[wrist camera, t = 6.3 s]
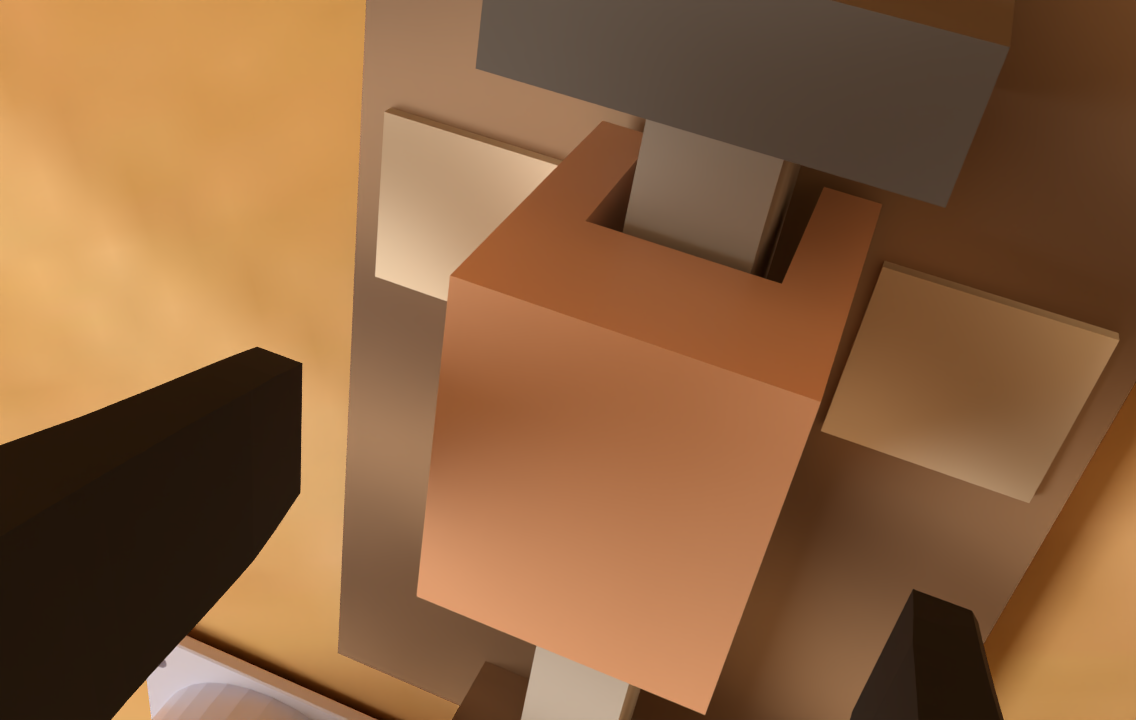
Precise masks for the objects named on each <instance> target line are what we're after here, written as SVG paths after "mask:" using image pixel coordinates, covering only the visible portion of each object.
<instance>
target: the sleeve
mask: <svg viewBox="0 0 1136 720" xmlns="http://www.w3.org/2000/svg"><path fill="white" fill-rule="evenodd" d="M642 137H643V132H639V131H636V130H633V129H629V128H626V127H622V126H619V125H616V124H612V123H609V122H606V121H602V122H601V123H600V124H599V125H598V126H597V127H596V128H595V129H594V130H593V131H592V132H591V133H590V134H589V135H588V136H587V137H586V138H585V139H584V140H583V141H582V142H581V143H580V144H579V145H578V146H577V147H576V148H575V149H574V150H573V151H572V152H571V153H570V154H569V155H568V156H567V157H566V158H565V159H564V160H563V161H562V162H561V163H560V164H559V165H558V166H557V167H556V168H555V169H554V170H553V171H552V172H551V173H550V174H549V175H548V176H547V177H546V178H545V179H544V180H543V181H542V182H541V183H540V184H539V185H538V186H537V188H536V189H535V190H534V191H533V192H532V193H531V194H530V195H529V196H528V197H527V198H526V199H525V200H524V201H523V202H522V203H521V204H520V205H519V206H518V207H517V208H516V209H515V210H514V211H513V212H512V213H511V214H510V215H509V216H508V217H507V218H506V219H505V220H504V221H503V222H502V223H501V224H500V225H499V226H498V227H497V228H496V229H495V230H494V231H493V232H492V233H491V234H490V235H489V236H488V237H487V238H486V239H485V240H484V241H483V242H482V243H481V244H480V245H479V246H478V247H477V248H476V249H475V250H474V251H473V252H472V253H471V255H470V256H469V257H468V258H467V259H466V260H465V261H464V262H463V263H462V264H461V265H460V266H459V267H458V268H457V269H456V270H455V271H454V272H453V273H452V274H451V275H450V279H449V289H448V299H447V308H446V318H445V327H444V337H443V347H442V356H441V366H440V375H439V385H438V395H437V404H436V414H435V423H434V433H433V443H432V452H431V462H430V471H429V481H428V491H427V500H426V510H425V519H424V529H423V539H422V548H421V558H420V567H419V577H418V587H417V597H419V598H422V599H424V600H427V601H429V602H432V603H434V604H436V605H439V606H441V607H444V608H446V609H449V610H451V611H453V612H456V613H458V614H461V615H463V616H466V617H468V618H470V619H473V620H475V621H478V622H480V623H483V624H485V625H487V626H490V627H492V628H495V629H497V630H500V631H502V632H504V633H507V634H509V635H512V636H514V637H517V638H519V639H521V640H524V641H526V642H529V643H531V644H534V645H536V646H538V647H541V648H543V649H546V650H548V651H551V652H553V653H555V654H558V655H560V656H563V657H565V658H568V659H570V660H572V661H575V662H577V663H580V664H582V665H585V666H587V667H589V668H592V669H594V670H597V671H599V672H602V673H604V674H607V675H609V676H611V677H614V678H616V679H619V680H621V681H624V682H626V683H628V684H631V685H633V686H636V687H638V688H641V689H643V690H645V691H648V692H650V693H653V694H655V695H658V696H660V697H662V698H665V699H667V700H670V701H672V702H675V703H677V704H679V705H682V706H684V707H687V708H689V709H692V710H694V711H696V712H699V713H701V714H704V715H705V714H706V711H707V708H708V706H709V703H710V700H711V698H712V695H713V692H714V689H715V687H716V684H717V681H718V679H719V676H720V673H721V671H722V668H723V665H724V662H725V660H726V657H727V654H728V652H729V649H730V646H731V644H732V641H733V638H734V635H735V633H736V630H737V627H738V625H739V622H740V619H741V617H742V614H743V611H744V608H745V606H746V603H747V600H748V598H749V595H750V592H751V590H752V587H753V584H754V581H755V579H756V576H757V573H758V571H759V568H760V565H761V563H762V560H763V557H764V554H765V552H766V549H767V546H768V544H769V541H770V538H771V536H772V533H773V530H774V528H775V525H776V522H777V519H778V517H779V514H780V511H781V509H782V506H783V503H784V501H785V498H786V495H787V492H788V490H789V487H790V484H791V482H792V479H793V476H794V474H795V471H796V468H797V465H798V463H799V460H800V457H801V455H802V452H803V449H804V447H805V444H806V441H807V438H808V436H809V433H810V430H811V428H812V425H813V422H814V420H815V417H816V414H817V411H818V409H819V406H820V403H821V400H822V397H823V394H824V391H825V388H826V384H827V381H828V378H829V375H830V371H831V368H832V365H833V362H834V359H835V355H836V352H837V349H838V346H839V342H840V339H841V336H842V333H843V330H844V326H845V323H846V320H847V317H848V313H849V310H850V307H851V304H852V301H853V297H854V294H855V291H856V288H857V284H858V281H859V278H860V275H861V272H862V268H863V265H864V262H865V259H866V256H867V252H868V249H869V246H870V243H871V239H872V236H873V233H874V230H875V227H876V223H877V220H878V217H879V214H880V210H881V207H882V204H880V203H877V202H873V201H870V200H867V199H863V198H860V197H857V196H853V195H850V194H846V193H843V192H840V191H836V190H833V189H830V188H826V187H824V188H823V190H822V192H821V195H820V197H819V199H818V202H817V204H816V206H815V208H814V211H813V213H812V215H811V218H810V220H809V222H808V225H807V227H806V229H805V232H804V234H803V236H802V238H801V241H800V243H799V245H798V248H797V250H796V252H795V255H794V257H793V259H792V262H791V264H790V266H789V268H788V271H787V273H786V275H785V278H784V280H783V282H782V284H781V283H778V282H774V281H771V280H768V279H765V278H762V277H759V276H756V275H753V274H749V273H746V272H743V271H740V270H737V269H734V268H731V267H728V266H724V265H721V264H718V263H715V262H712V261H709V260H706V259H703V258H700V257H696V256H693V255H690V254H687V253H684V252H681V251H678V250H675V249H671V248H668V247H665V246H662V245H659V244H656V243H653V242H650V241H647V240H643V239H640V238H637V237H634V236H631V235H628V234H625V233H623V228H624V223H625V218H626V214H627V209H628V204H629V199H630V194H631V190H632V185H633V180H634V175H635V170H636V166H637V161H638V156H639V151H640V146H641V142H642Z"/></svg>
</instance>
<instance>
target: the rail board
mask: <svg viewBox="0 0 1136 720" xmlns="http://www.w3.org/2000/svg"><path fill="white" fill-rule="evenodd" d="M602 121H606V122H609V123H612V124H616V125H619V126H622V127H626V128H629V129H633V130H636V131H639V132H643V137H642V142H641V146H640V151H639V156H638V161H637V166H636V170H635V175H634V180H633V185H632V190H631V194H630V199H629V204H628V209H627V214H626V218H625V223H624V228H623V233H625V234H628V235H631V236H634V237H637V238H640V239H643V240H647V241H650V242H653V243H656V244H659V245H662V246H665V247H668V248H671V249H675V250H678V251H681V252H684V253H687V254H690V255H693V256H696V257H700V258H703V259H706V260H709V261H712V262H715V263H718V264H721V265H724V266H728V267H731V268H734V269H737V270H740V271H743V272H746V273H749V274H753V275H756V276H759V277H762V278H765V279H768V280H771V281H774V282H778V283H781V284H782V282H783V280H784V278H785V275H786V273H787V271H788V268H789V266H790V264H791V262H792V259H793V257H794V255H795V252H796V250H797V248H798V245H799V243H800V241H801V238H802V236H803V234H804V232H805V229H806V227H807V225H808V222H809V220H810V218H811V215H812V213H813V211H814V208H815V206H816V204H817V202H818V199H819V197H820V195H821V192H822V190H823V188H824V187H826V188H830V189H833V190H836V191H840V192H843V193H846V194H850V195H853V196H857V197H860V198H863V199H867V200H870V201H873V202H877V203H880V204H882V207H881V210H880V214H879V217H878V220H877V223H876V227H875V230H874V233H873V236H872V239H871V243H870V246H869V249H868V252H867V256H866V259H865V262H864V265H863V268H862V272H861V275H860V278H859V281H858V284H857V288H856V291H855V294H854V297H853V301H852V304H851V307H850V310H849V313H848V317H847V320H846V323H845V326H844V330H843V333H842V336H841V339H840V342H839V346H838V349H837V352H836V355H835V359H834V362H833V365H832V368H831V371H830V375H829V378H828V381H827V384H826V388H825V391H824V394H823V397H822V400H821V403H820V406H819V409H818V411H817V414H816V417H815V420H814V422H813V425H812V428H811V430H810V433H809V436H808V438H807V441H806V444H805V447H804V449H803V452H802V455H801V457H800V460H799V463H798V465H797V468H796V471H795V474H794V476H793V479H792V482H791V484H790V487H789V490H788V492H787V495H786V498H785V501H784V503H783V506H782V509H781V511H780V514H779V517H778V519H777V522H776V525H775V528H774V530H773V533H772V536H771V538H770V541H769V544H768V546H767V549H766V552H765V554H764V557H763V560H762V563H761V565H760V568H759V571H758V573H757V576H756V579H755V581H754V584H753V587H752V590H751V592H750V595H749V598H748V600H747V603H746V606H745V608H744V611H743V614H742V617H741V619H740V622H739V625H738V627H737V630H736V633H735V635H734V638H733V641H732V644H731V646H730V649H729V652H728V654H727V657H726V660H725V662H724V665H723V668H722V671H721V673H720V676H719V679H718V681H717V684H716V687H715V689H714V692H713V695H712V698H711V700H710V703H709V706H708V708H707V711H706V714H705V715H704V714H701V713H699V712H696V711H694V710H692V709H689V708H687V707H684V706H682V705H679V704H677V703H675V702H672V701H670V700H667V699H665V698H662V697H660V696H658V695H655V694H653V693H650V692H648V691H645V690H643V689H641V688H638V687H636V686H633V685H631V684H628V683H626V682H624V681H621V680H619V679H616V678H614V677H611V676H609V675H607V674H604V673H602V672H599V671H597V670H594V669H592V668H589V667H587V666H585V665H582V664H580V663H577V662H575V661H572V660H570V659H568V658H565V657H563V656H560V655H558V654H555V653H553V652H551V651H548V650H546V649H543V648H541V647H538V646H536V645H534V644H531V643H529V642H526V641H524V640H521V639H519V638H517V637H514V636H512V635H509V634H507V633H504V632H502V631H500V630H497V629H495V628H492V627H490V626H487V625H485V624H483V623H480V622H478V621H475V620H473V619H470V618H468V617H466V616H463V615H461V614H458V613H456V612H453V611H451V610H449V609H446V608H444V607H441V606H439V605H436V604H434V603H432V602H429V601H427V600H424V599H422V598H419V597H417V587H418V577H419V567H420V558H421V548H422V539H423V529H424V519H425V510H426V500H427V491H428V481H429V471H430V462H431V452H432V443H433V433H434V423H435V414H436V404H437V395H438V385H439V375H440V366H441V356H442V347H443V337H444V327H445V318H446V308H447V299H448V289H449V279H450V275H451V274H452V273H453V272H454V271H455V270H456V269H457V268H458V267H459V266H460V265H461V264H462V263H463V262H464V261H465V260H466V259H467V258H468V257H469V256H470V255H471V253H472V252H473V251H474V250H475V249H476V248H477V247H478V246H479V245H480V244H481V243H482V242H483V241H484V240H485V239H486V238H487V237H488V236H489V235H490V234H491V233H492V232H493V231H494V230H495V229H496V228H497V227H498V226H499V225H500V224H501V223H502V222H503V221H504V220H505V219H506V218H507V217H508V216H509V215H510V214H511V213H512V212H513V211H514V210H515V209H516V208H517V207H518V206H519V205H520V204H521V203H522V202H523V201H524V200H525V199H526V198H527V197H528V196H529V195H530V194H531V193H532V192H533V191H534V190H535V189H536V188H537V186H538V185H539V184H540V183H541V182H542V181H543V180H544V179H545V178H546V177H547V176H548V175H549V174H550V173H551V172H552V171H553V170H554V169H555V168H556V167H557V166H558V165H559V164H560V163H561V162H562V161H563V160H564V159H565V158H566V157H567V156H568V155H569V154H570V153H571V152H572V151H573V150H574V149H575V148H576V147H577V146H578V145H579V144H580V143H581V142H582V141H583V140H584V139H585V138H586V137H587V136H588V135H589V134H590V133H591V132H592V131H593V130H594V129H595V128H596V127H597V126H598V125H599V124H600V123H601V122H602ZM1135 382H1136V0H366V19H365V42H364V65H363V88H362V112H361V135H360V158H359V181H358V204H357V227H356V250H355V273H354V296H353V319H352V342H351V365H350V389H349V412H348V435H347V458H346V481H345V504H344V527H343V550H342V573H341V596H340V619H339V642H338V653H339V654H341V655H344V656H346V657H348V658H351V659H353V660H355V661H358V662H360V663H362V664H364V665H367V666H369V667H371V668H374V669H376V670H378V671H381V672H383V673H385V674H388V675H390V676H392V677H395V678H397V679H399V680H402V681H404V682H406V683H409V684H411V685H413V686H416V687H418V688H420V689H423V690H425V691H427V692H429V693H432V694H434V695H436V696H439V697H441V698H443V699H446V700H448V701H450V702H453V703H455V704H457V705H460V707H459V708H458V710H457V712H456V714H455V715H454V717H453V719H452V720H850V718H851V714H852V711H853V709H854V707H855V705H856V703H857V701H858V699H859V696H860V694H861V692H862V690H863V688H864V686H865V684H866V682H867V680H868V678H869V676H870V674H871V672H872V670H873V668H874V666H875V664H876V662H877V660H878V658H879V656H880V654H881V652H882V650H883V648H884V646H885V644H886V642H887V640H888V638H889V636H890V634H891V632H892V630H893V628H894V626H895V624H896V622H897V620H898V618H899V616H900V614H901V612H902V610H903V608H904V606H905V604H906V602H907V600H908V598H909V596H910V594H911V592H912V590H913V589H915V590H917V591H920V592H923V593H926V594H928V595H931V596H934V597H936V598H939V599H942V600H944V601H947V602H950V603H953V604H955V605H958V606H961V607H963V608H966V609H969V610H972V611H973V613H974V615H975V617H976V619H977V621H978V623H979V627H980V632H981V636H982V641H983V644H984V642H985V641H986V639H987V637H988V636H989V634H990V632H991V630H992V629H993V627H994V625H995V624H996V622H997V620H998V618H999V617H1000V615H1001V613H1002V611H1003V610H1004V608H1005V606H1006V605H1007V603H1008V601H1009V599H1010V598H1011V596H1012V594H1013V593H1014V591H1015V589H1016V587H1017V586H1018V584H1019V582H1020V580H1021V579H1022V577H1023V575H1024V574H1025V572H1026V570H1027V568H1028V567H1029V565H1030V563H1031V562H1032V560H1033V558H1034V556H1035V555H1036V553H1037V551H1038V549H1039V548H1040V546H1041V544H1042V543H1043V541H1044V539H1045V537H1046V536H1047V534H1048V532H1049V531H1050V529H1051V527H1052V525H1053V524H1054V522H1055V520H1056V518H1057V517H1058V515H1059V513H1060V512H1061V510H1062V508H1063V506H1064V505H1065V503H1066V501H1067V500H1068V498H1069V496H1070V494H1071V493H1072V491H1073V489H1074V487H1075V486H1076V484H1077V482H1078V481H1079V479H1080V477H1081V475H1082V474H1083V472H1084V470H1085V469H1086V467H1087V465H1088V463H1089V462H1090V460H1091V458H1092V456H1093V455H1094V453H1095V451H1096V450H1097V448H1098V446H1099V444H1100V443H1101V441H1102V439H1103V438H1104V436H1105V434H1106V432H1107V431H1108V429H1109V427H1110V425H1111V424H1112V422H1113V420H1114V419H1115V417H1116V415H1117V413H1118V412H1119V410H1120V408H1121V407H1122V405H1123V403H1124V401H1125V400H1126V398H1127V396H1128V394H1129V393H1130V391H1131V389H1132V388H1133V386H1134V384H1135Z"/></svg>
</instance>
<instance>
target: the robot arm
mask: <svg viewBox="0 0 1136 720" xmlns="http://www.w3.org/2000/svg"><path fill="white" fill-rule="evenodd" d="M301 417H302V363H300V362H297V361H294V360H292V359H289V358H286V357H284V356H281V355H278V354H275V353H273V352H270V351H267V350H265V349H262V348H259V347H255V348H253V349H250V350H247V351H244V352H241V353H239V354H236V355H233V356H231V357H228V358H226V359H223V360H221V361H218V362H216V363H213V364H211V365H208V366H206V367H203V368H201V369H198V370H196V371H194V372H191V373H189V374H186V375H184V376H181V377H179V378H177V379H174V380H172V381H169V382H167V383H164V384H162V385H159V386H157V387H155V388H152V389H150V390H147V391H145V392H142V393H140V394H137V395H135V396H132V397H130V398H127V399H124V400H122V401H119V402H117V403H114V404H112V405H109V406H107V407H104V408H102V409H99V410H97V411H94V412H92V413H89V414H87V415H84V416H81V417H79V418H76V419H73V420H70V421H67V422H65V423H62V424H59V425H56V426H53V427H51V428H48V429H45V430H42V431H39V432H36V433H34V434H31V435H28V436H25V437H22V438H19V439H17V440H14V441H11V442H8V443H5V444H3V445H0V720H111V719H112V718H113V717H114V716H115V714H116V713H117V712H118V711H119V710H120V708H121V707H122V706H123V705H124V704H125V703H126V701H127V700H128V699H129V698H130V697H131V696H132V695H133V694H134V692H135V691H136V690H137V689H138V688H139V687H140V686H141V685H142V684H143V683H144V681H145V680H146V679H147V686H148V694H149V703H150V711H151V719H152V720H377V719H375V718H372V717H370V716H368V715H366V714H363V713H361V712H359V711H357V710H354V709H352V708H350V707H348V706H345V705H343V704H341V703H338V702H336V701H334V700H332V699H329V698H327V697H325V696H323V695H320V694H318V693H316V692H314V691H311V690H309V689H307V688H304V687H302V686H300V685H298V684H295V683H293V682H291V681H289V680H286V679H284V678H282V677H280V676H277V675H275V674H273V673H270V672H268V671H266V670H264V669H261V668H259V667H257V666H255V665H252V664H250V663H248V662H246V661H243V660H241V659H239V658H236V657H234V656H232V655H230V654H227V653H225V652H223V651H221V650H218V649H216V648H214V647H212V646H209V645H207V644H205V643H202V642H200V641H198V640H196V639H193V638H191V637H189V636H187V634H188V633H189V632H190V631H191V630H192V629H193V628H194V627H195V625H196V624H197V623H198V622H199V621H200V620H201V619H202V618H203V617H204V616H205V615H206V613H207V612H208V611H209V610H210V609H211V608H212V607H213V606H214V605H215V603H216V602H217V601H218V600H219V599H220V598H221V597H222V596H223V595H224V593H225V592H226V591H227V590H228V589H229V588H230V587H231V586H232V584H233V583H234V582H235V581H236V580H237V579H238V578H239V577H240V576H241V574H242V573H243V572H244V571H245V570H246V569H247V567H248V566H249V565H250V564H251V563H252V562H253V561H254V559H255V558H256V557H257V555H258V554H259V552H260V551H261V550H262V548H263V547H264V545H265V544H266V542H267V541H268V540H269V538H270V537H271V535H272V534H273V533H274V531H275V530H276V528H277V527H278V525H279V524H280V522H281V521H282V519H283V518H284V516H285V515H286V513H287V512H288V510H289V509H290V507H291V506H292V504H293V503H294V501H295V500H296V498H297V497H298V495H299V494H300V486H301ZM850 720H1004V719H1003V716H1002V712H1001V709H1000V706H999V702H998V699H997V695H996V692H995V688H994V684H993V680H992V677H991V673H990V669H989V665H988V661H987V657H986V653H985V649H984V645H983V641H982V636H981V632H980V627H979V623H978V621H977V619H976V617H975V615H974V613H973V611H972V610H969V609H966V608H963V607H961V606H958V605H955V604H953V603H950V602H947V601H944V600H942V599H939V598H936V597H934V596H931V595H928V594H926V593H923V592H920V591H917V590H915V589H913V590H912V592H911V594H910V596H909V598H908V600H907V602H906V604H905V606H904V608H903V610H902V612H901V614H900V616H899V618H898V620H897V622H896V624H895V626H894V628H893V630H892V632H891V634H890V636H889V638H888V640H887V642H886V644H885V646H884V648H883V650H882V652H881V654H880V656H879V658H878V660H877V662H876V664H875V666H874V668H873V670H872V672H871V674H870V676H869V678H868V680H867V682H866V684H865V686H864V688H863V690H862V692H861V694H860V696H859V699H858V701H857V703H856V705H855V707H854V709H853V711H852V714H851V718H850Z"/></svg>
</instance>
